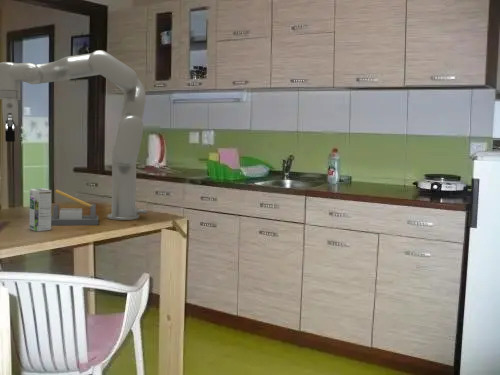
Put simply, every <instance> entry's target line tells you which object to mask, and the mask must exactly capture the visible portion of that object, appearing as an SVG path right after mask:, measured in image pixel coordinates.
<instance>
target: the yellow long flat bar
mask: <svg viewBox="0 0 500 375" xmlns="http://www.w3.org/2000/svg"><path fill="white" fill-rule="evenodd" d="M54 193H55V194H58V195H60V196H62V197H64V198H68V199H69V200H72V201H74V202H76V203H77V204H81V205H83V206H86V207H87V208H90V206H94V205H91V204H92V203H88V202H86V201H83V200H81V199H79V198H77V197H74V196H72V195H70V194H68V193H66V192H63V191H62V190H59V189H58V188H57V189H55V191H54Z"/></svg>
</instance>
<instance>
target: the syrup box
mask: <svg viewBox="0 0 500 375" xmlns="http://www.w3.org/2000/svg"><path fill="white" fill-rule="evenodd" d="M51 216H52V189H46V188H41V187H40V188H38V187H37V188H30V189H29V230H32V231H34V232H43V231H44V232H45V231H51V230H52V225H51Z"/></svg>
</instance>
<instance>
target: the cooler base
mask: <svg viewBox="0 0 500 375" xmlns="http://www.w3.org/2000/svg"><path fill="white" fill-rule="evenodd" d="M90 204H91V205H94V206H90V209H89V210H90V211H89V215H83V208H60V205H59V204H54V205H53V207H52V214H53V215H51V226H99V215H97V208H96V207H97V206H96V205H97V203H90ZM59 208H60V210H59Z"/></svg>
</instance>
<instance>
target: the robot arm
mask: <svg viewBox="0 0 500 375" xmlns="http://www.w3.org/2000/svg"><path fill="white" fill-rule="evenodd" d="M99 75H100V76H102V77H103V78H105V79H107V80H108V81H110V82H111V83H113V84H115V85H116V87H117V88H118V89H119V90H121V92H122V94H123V103H122V110H121V114H120V117H119V121H118V124H117V133H116V136H115V137H116V139H115V142H114V146H113V147H112V151H111V170H112V171H111V177H112V178H111V212H110V213H108V214H107V219H109V220H114V221H115V220H116V221H131V220H137V219H139V218H140V214H143V215H144V214H148V209H147V208H138V207H137V204H136V203H137V202H136V201H137V199H136V193H137V185H136V184H137V159H138V158H139V153H140V148H141V146H142V145H141V144H142V141H143V140H142V139H143V133H144V128H145V126H144V123H143V118H144V113H145V105H146V99H147V98H146V91H145V88H144V85H143V83H142V82H141V80H140V79H139V78H138V74H137V72H135V70H134V69H132V68H131V67H129V66H128V65H127V64H126V63H124V62H123V61H120V59H117V58H116V57H115V56H113V55H111V53H108V52H107V51H106V50H102V49H99V50H98V49H97V50H94V51H93V52H91V53H83V54H77V55H69V56H65V57H62V58H60V59H57V60H55V61H51V62H45V63H39V64H35V63H33V62H20V63H19V62H17V63H16V62H10V61H3V62H0V100H1V102H2V103H1V105H2V108H1V109H2V121H3V125H4V126H5V132H4V133H5V135H4V136H5V140H4V141H5V142H8V143H9V142H10V143H11V142H12V143H13V142H16V132H15V131H16V130H15V126H16V127H17V126H18V125H19V105H18V101H21V82H23V83H26V84H29V85H40V84H47V83H48V84H49V83H53V82H59V81H68V80H73V79H79V78H85V77H86V78H87V77H93V76H99Z"/></svg>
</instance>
